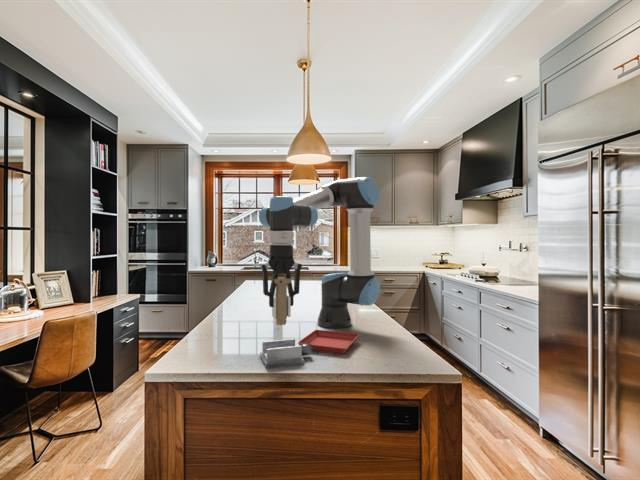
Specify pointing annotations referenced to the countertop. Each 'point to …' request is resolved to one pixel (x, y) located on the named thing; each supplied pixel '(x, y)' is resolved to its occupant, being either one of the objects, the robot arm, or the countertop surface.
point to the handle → (281, 299)
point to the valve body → (283, 353)
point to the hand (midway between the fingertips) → (281, 316)
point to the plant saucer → (329, 341)
